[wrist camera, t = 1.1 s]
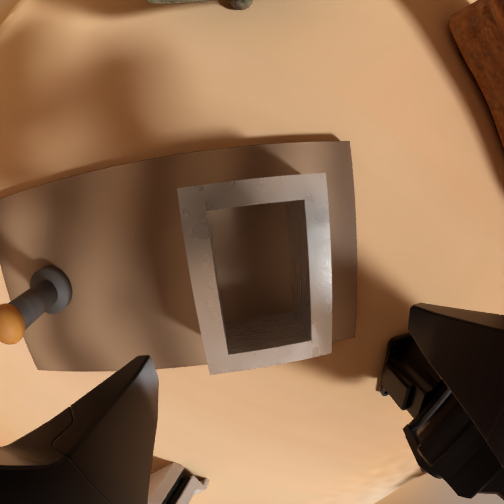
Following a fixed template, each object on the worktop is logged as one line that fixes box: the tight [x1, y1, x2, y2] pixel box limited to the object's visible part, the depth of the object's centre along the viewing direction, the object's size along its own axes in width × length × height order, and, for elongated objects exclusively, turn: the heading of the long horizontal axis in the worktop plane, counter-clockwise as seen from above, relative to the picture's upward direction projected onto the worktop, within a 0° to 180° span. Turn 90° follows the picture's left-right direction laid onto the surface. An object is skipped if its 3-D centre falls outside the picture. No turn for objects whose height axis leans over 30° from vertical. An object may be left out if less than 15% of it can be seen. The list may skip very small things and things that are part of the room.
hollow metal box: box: [177, 173, 332, 375], centre depth 16 cm, size 7×10×4 cm
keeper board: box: [0, 141, 357, 371], centre depth 15 cm, size 26×14×8 cm, turn 96°
